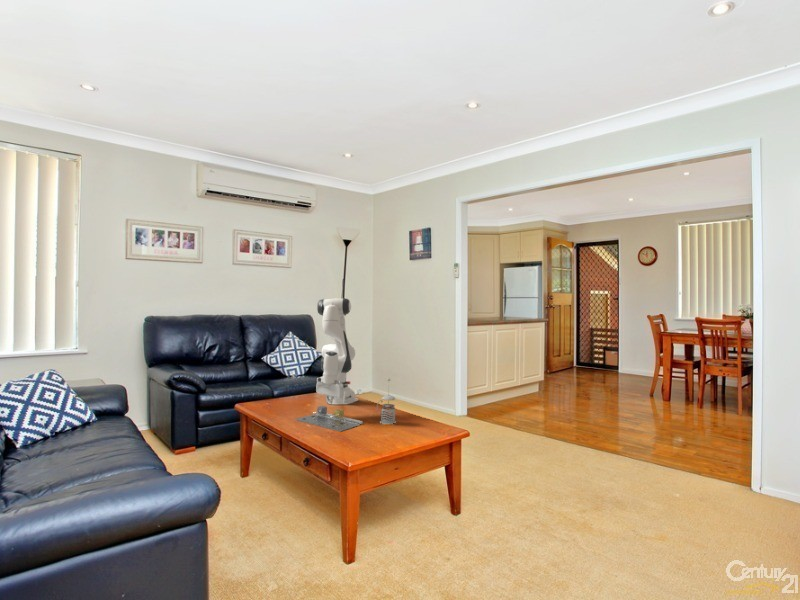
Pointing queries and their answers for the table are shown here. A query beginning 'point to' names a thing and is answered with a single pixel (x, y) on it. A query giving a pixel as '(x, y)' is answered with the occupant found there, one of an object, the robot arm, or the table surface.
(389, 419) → the french press
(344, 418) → the trammel beam
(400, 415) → the table surface
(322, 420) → the flange plate
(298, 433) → the table surface
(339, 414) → the sliding head
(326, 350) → the robot arm
